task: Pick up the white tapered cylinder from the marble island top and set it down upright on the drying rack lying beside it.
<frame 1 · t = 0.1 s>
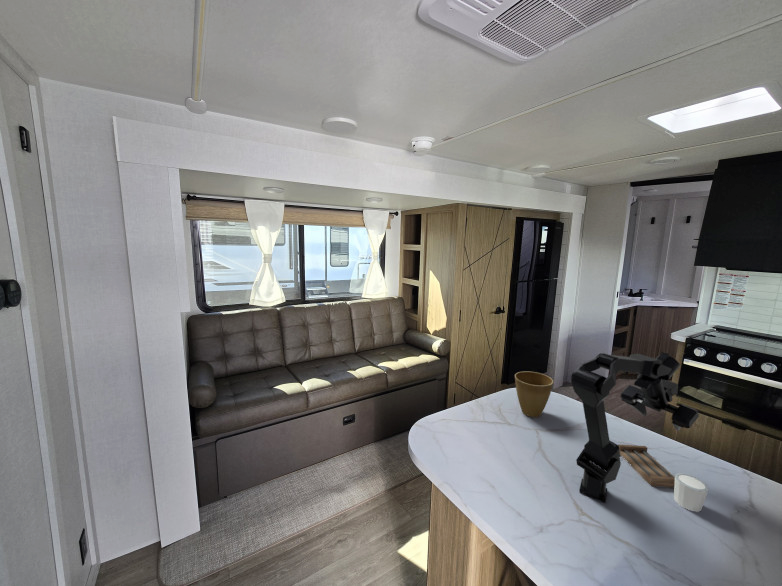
hand: (661, 422, 102), 15 cm above the table, tool tilted 35°, fingers open, 9 cm apart
plant pot: (530, 413, 135), on the table
white tapered cylinder: (687, 504, 88), on the table
glass rack: (647, 468, 102), on the table
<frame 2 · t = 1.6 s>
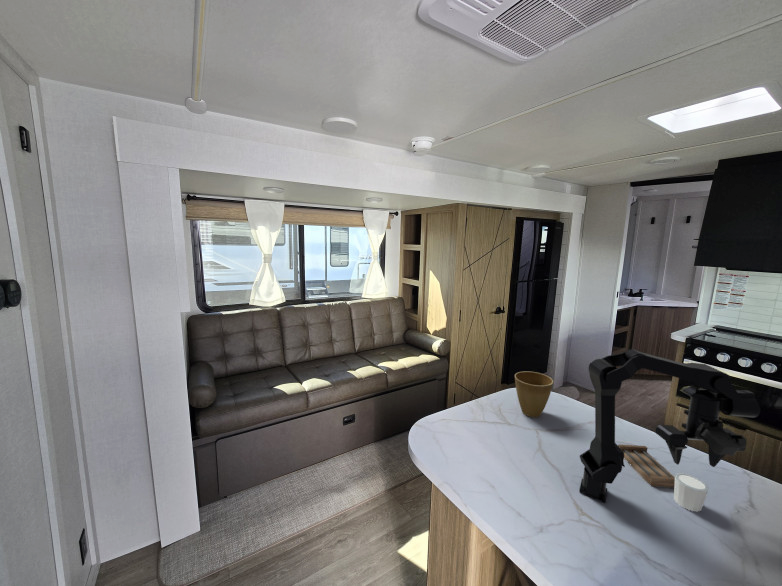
hand: (694, 464, 86), 12 cm above the table, tool pointing down, fingers open, 9 cm apart
nothing on the table moved.
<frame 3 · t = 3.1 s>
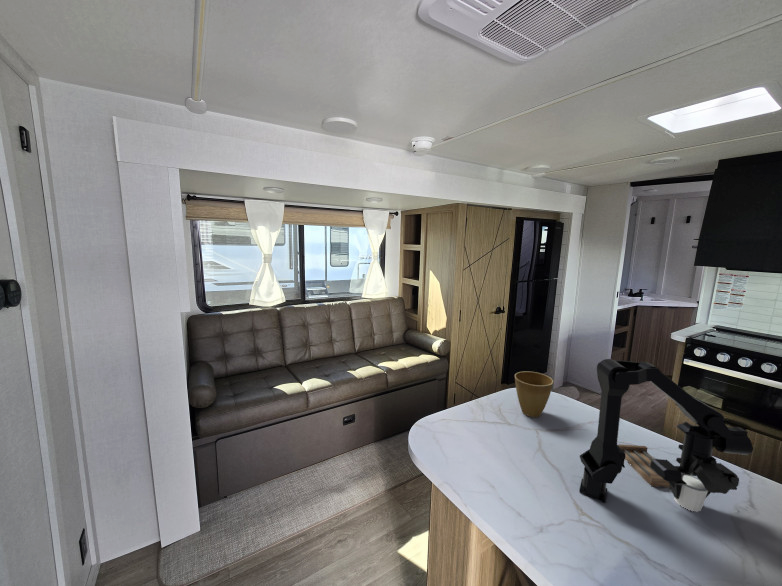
hand: (688, 498, 88), 2 cm above the table, tool pointing down, fingers closed on white tapered cylinder, 6 cm apart
white tapered cylinder: (687, 504, 88), on the table, touching gripper
everything else where it was.
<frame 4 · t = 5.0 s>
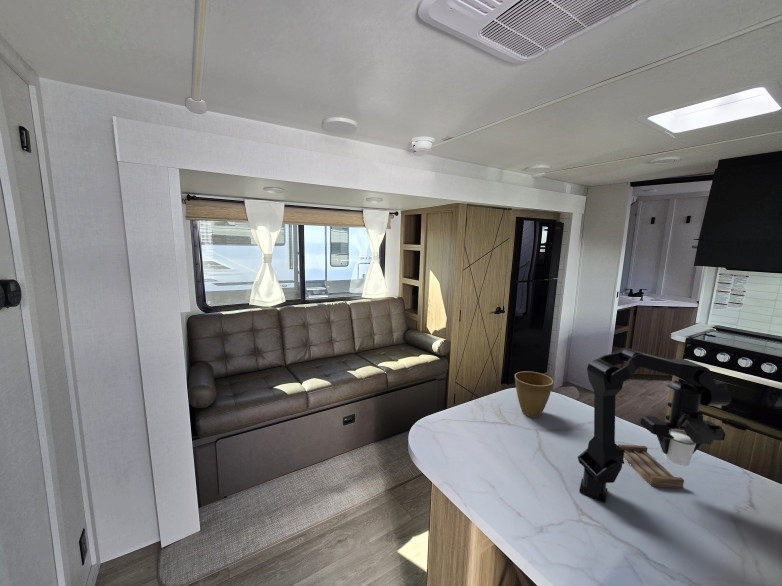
hand: (676, 454, 92), 11 cm above the table, tool pointing down, fingers closed on white tapered cylinder, 6 cm apart
white tapered cylinder: (676, 459, 92), point 10 cm above the table, touching gripper
everything else where it was.
when the fingers open (5 cm above the table, at t = 7.2 s): white tapered cylinder drops 2 cm, resting on glass rack.
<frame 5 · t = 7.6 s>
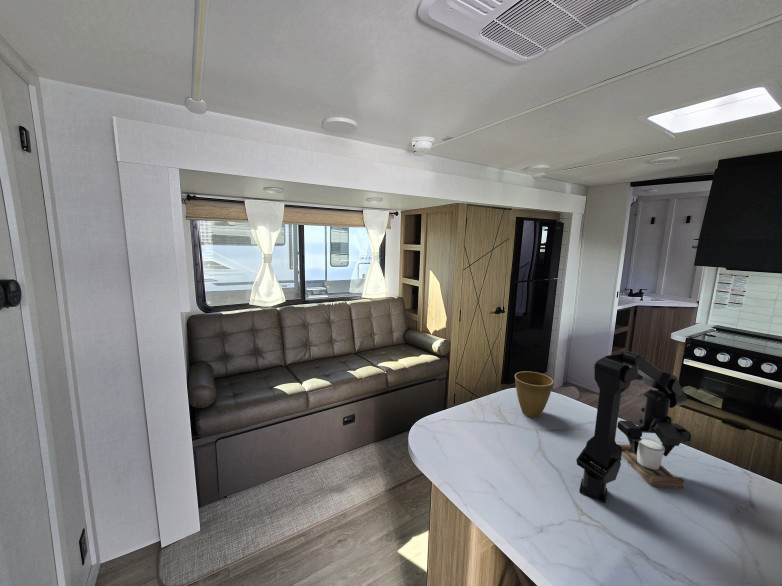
hand: (649, 454, 101), 5 cm above the table, tool pointing down, fingers open, 9 cm apart
white tapered cylinder: (647, 464, 102), point 2 cm above the table, touching glass rack
everything else where it was.
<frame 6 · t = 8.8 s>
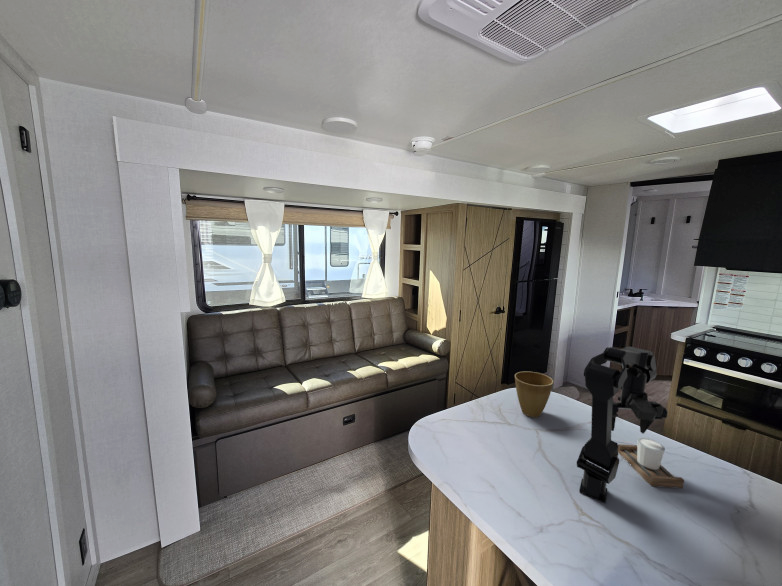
hand: (626, 431, 102), 12 cm above the table, tool pointing down, fingers open, 9 cm apart
nothing on the table moved.
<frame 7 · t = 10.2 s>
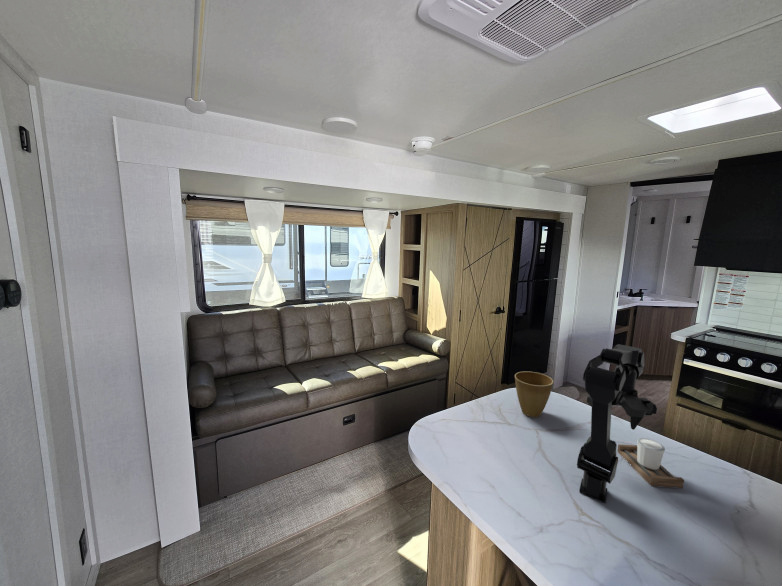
hand: (617, 428, 103), 12 cm above the table, tool pointing down, fingers open, 9 cm apart
nothing on the table moved.
at the end: white tapered cylinder inside the target area on the glass rack (0.1 cm from its centre), point 1.6 cm above the glass rack's base; white tapered cylinder tilted 0°; the gripper is holding nothing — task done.
